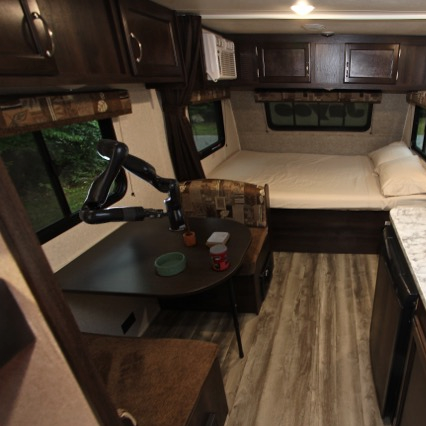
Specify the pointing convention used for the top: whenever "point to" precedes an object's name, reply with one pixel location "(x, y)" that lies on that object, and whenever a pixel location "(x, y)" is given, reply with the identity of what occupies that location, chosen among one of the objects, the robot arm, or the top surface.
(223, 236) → the soap dish
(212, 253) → the canned food
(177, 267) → the bowl
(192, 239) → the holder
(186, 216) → the stick
